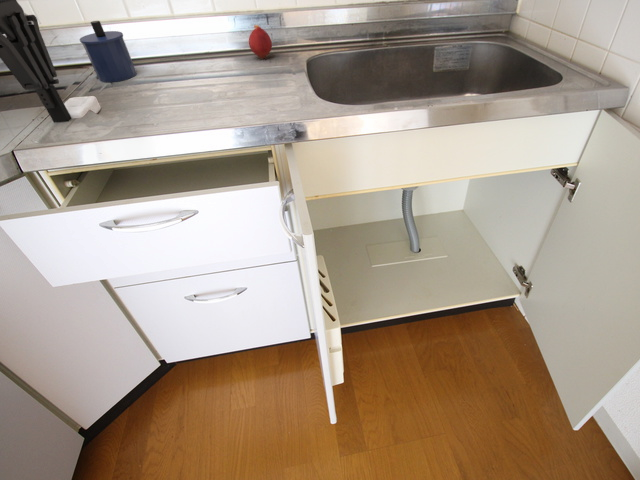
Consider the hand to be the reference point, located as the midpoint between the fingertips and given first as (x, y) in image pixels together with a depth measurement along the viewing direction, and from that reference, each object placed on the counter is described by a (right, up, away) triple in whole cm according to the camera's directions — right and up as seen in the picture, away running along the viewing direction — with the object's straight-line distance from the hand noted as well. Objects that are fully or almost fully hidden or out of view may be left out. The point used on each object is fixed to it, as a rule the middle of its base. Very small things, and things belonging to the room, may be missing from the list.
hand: (64, 122), depth 75 cm
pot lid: (-4, +26, +18) cm, 32 cm away
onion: (+32, +28, +30) cm, 52 cm away
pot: (-4, +20, +24) cm, 31 cm away
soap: (0, +2, +5) cm, 5 cm away
